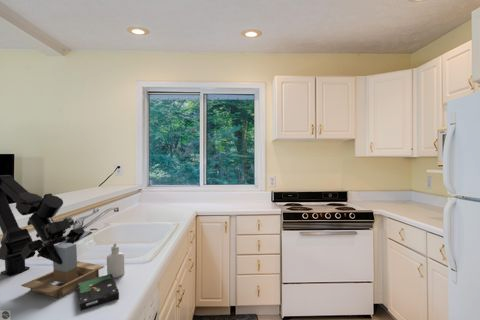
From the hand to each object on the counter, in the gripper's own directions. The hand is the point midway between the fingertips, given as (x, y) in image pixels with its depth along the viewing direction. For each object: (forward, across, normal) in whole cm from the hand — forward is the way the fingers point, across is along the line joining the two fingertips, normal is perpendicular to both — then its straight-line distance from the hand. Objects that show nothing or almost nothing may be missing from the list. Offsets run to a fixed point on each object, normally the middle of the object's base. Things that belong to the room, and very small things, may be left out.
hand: (67, 261), depth 88 cm
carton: (+5, 0, +7) cm, 8 cm away
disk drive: (+17, -1, -4) cm, 17 cm away
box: (+4, 0, +6) cm, 7 cm away
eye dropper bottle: (+13, +10, -2) cm, 17 cm away
